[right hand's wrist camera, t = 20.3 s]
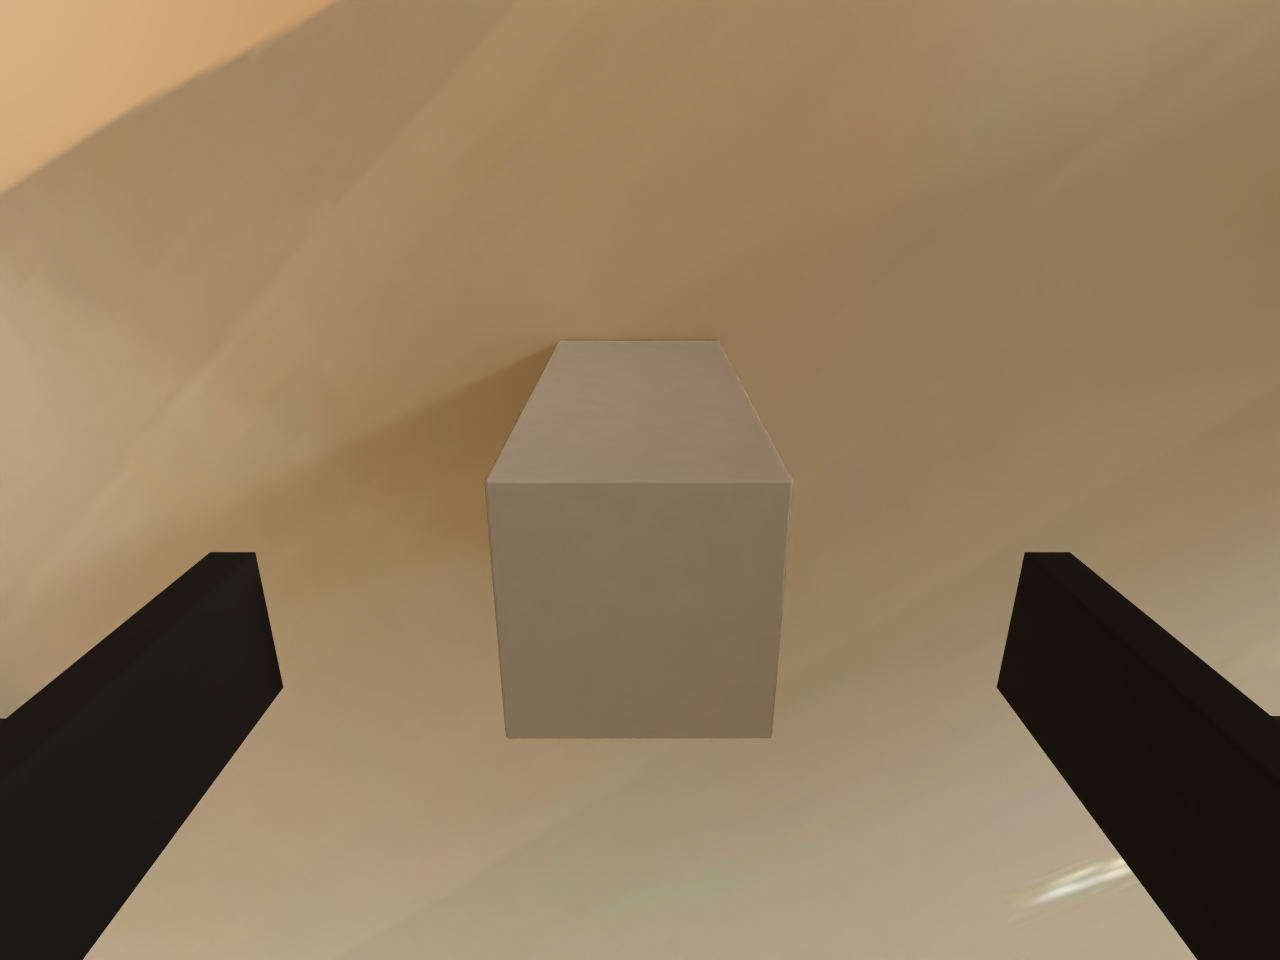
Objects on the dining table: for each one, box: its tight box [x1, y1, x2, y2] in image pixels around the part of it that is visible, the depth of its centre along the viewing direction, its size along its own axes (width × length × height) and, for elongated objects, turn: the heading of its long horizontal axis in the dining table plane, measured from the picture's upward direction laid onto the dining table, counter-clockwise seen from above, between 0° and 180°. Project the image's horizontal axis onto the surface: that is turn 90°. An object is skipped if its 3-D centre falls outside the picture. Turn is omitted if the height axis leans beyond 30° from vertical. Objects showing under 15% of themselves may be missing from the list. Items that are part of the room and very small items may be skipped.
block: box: [485, 341, 793, 738], centre depth 18 cm, size 5×5×11 cm
